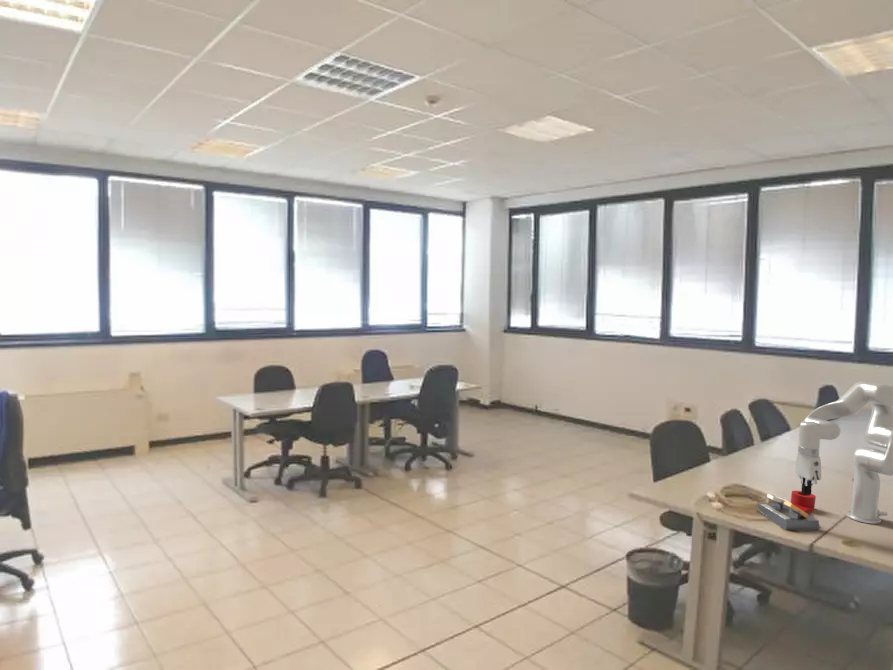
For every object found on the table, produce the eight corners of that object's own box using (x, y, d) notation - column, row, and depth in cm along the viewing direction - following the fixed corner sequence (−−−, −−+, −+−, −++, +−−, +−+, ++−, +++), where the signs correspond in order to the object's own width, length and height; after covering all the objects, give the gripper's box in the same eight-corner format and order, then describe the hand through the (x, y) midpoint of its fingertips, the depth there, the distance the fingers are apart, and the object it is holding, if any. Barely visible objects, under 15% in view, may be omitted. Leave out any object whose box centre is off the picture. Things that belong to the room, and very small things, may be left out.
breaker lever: (799, 514, 256) (801, 510, 256) (806, 518, 251) (809, 514, 251) (782, 503, 255) (785, 499, 255) (790, 507, 250) (792, 503, 250)
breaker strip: (786, 512, 269) (787, 500, 268) (817, 530, 249) (819, 516, 249) (756, 512, 268) (757, 499, 267) (786, 529, 248) (787, 516, 247)
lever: (791, 503, 281) (793, 489, 281) (814, 508, 276) (816, 494, 275) (786, 512, 267) (787, 498, 266) (810, 518, 261) (812, 503, 261)
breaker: (783, 503, 267) (785, 499, 267) (790, 507, 262) (792, 503, 262) (765, 496, 266) (767, 492, 266) (772, 500, 261) (774, 496, 261)
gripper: (830, 456, 244) (827, 500, 246) (804, 446, 259) (802, 487, 261) (812, 456, 244) (810, 500, 245) (788, 446, 258) (786, 488, 260)
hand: (806, 494), depth 253 cm, fingers closed
